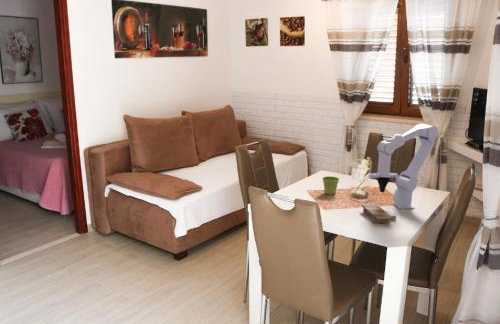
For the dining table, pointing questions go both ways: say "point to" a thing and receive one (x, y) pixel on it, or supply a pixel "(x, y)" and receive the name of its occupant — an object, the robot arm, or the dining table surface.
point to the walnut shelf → (376, 213)
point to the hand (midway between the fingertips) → (381, 191)
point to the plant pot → (330, 184)
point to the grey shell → (391, 214)
